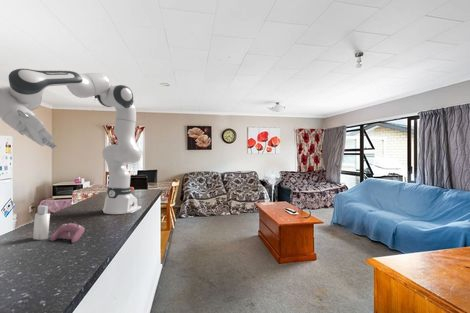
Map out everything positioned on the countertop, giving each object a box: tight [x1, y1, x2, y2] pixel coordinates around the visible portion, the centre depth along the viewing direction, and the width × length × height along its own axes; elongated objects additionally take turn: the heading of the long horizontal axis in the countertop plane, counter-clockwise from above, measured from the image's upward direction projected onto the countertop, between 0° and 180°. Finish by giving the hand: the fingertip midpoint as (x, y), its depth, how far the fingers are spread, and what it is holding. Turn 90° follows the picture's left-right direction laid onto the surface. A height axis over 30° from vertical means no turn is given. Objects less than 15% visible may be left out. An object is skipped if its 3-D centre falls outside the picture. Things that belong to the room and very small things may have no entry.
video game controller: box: [50, 222, 85, 244], centre depth 84 cm, size 10×5×7 cm, turn 84°
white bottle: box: [32, 205, 51, 241], centre depth 84 cm, size 3×5×12 cm, turn 82°
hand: (54, 144), depth 91 cm, fingers open, 8 cm apart
